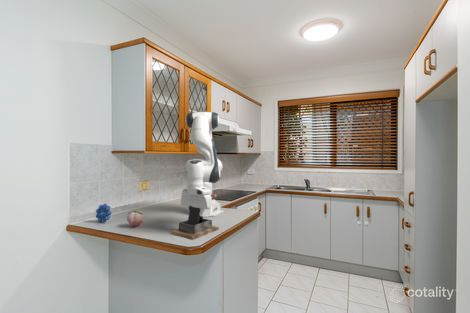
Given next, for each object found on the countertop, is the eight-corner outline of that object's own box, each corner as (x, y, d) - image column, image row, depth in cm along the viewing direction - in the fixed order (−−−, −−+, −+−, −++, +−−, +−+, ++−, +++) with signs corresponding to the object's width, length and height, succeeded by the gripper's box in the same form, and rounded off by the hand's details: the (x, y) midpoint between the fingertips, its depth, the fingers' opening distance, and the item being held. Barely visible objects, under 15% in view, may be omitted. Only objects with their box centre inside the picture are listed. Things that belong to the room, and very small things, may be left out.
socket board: (197, 224, 145) (197, 215, 145) (218, 229, 136) (218, 219, 136) (171, 233, 129) (171, 223, 129) (193, 239, 120) (193, 228, 120)
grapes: (116, 221, 153) (116, 202, 153) (108, 224, 147) (107, 204, 147) (101, 220, 157) (101, 201, 157) (92, 223, 150) (92, 203, 150)
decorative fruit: (146, 224, 147) (146, 207, 147) (141, 228, 139) (141, 210, 139) (130, 224, 147) (130, 207, 147) (124, 228, 139) (124, 211, 139)
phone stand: (194, 224, 138) (194, 203, 138) (204, 225, 136) (204, 203, 136) (186, 228, 129) (186, 206, 129) (196, 229, 127) (196, 206, 127)
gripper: (178, 189, 136) (178, 213, 136) (205, 192, 124) (205, 219, 124) (186, 187, 141) (186, 211, 141) (213, 190, 129) (213, 216, 129)
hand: (195, 215), depth 133 cm, fingers closed on phone stand, 6 cm apart
